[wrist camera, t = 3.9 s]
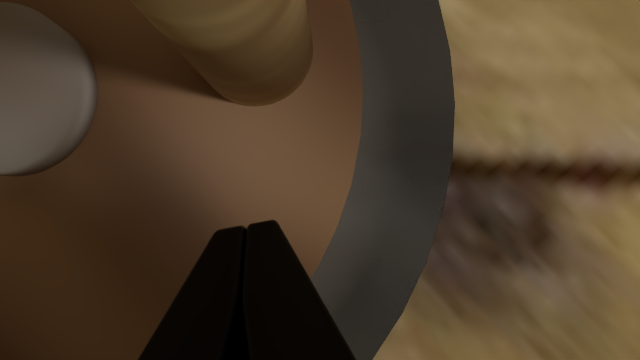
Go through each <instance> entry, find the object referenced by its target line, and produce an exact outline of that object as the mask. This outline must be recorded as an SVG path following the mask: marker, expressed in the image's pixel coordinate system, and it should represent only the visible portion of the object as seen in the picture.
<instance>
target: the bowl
mask: <svg viewBox="0 0 640 360" xmlns="http://www.w3.org/2000/svg"><path fill="white" fill-rule="evenodd" d="M349 1H350V4H351V9H352V13H353V18H354V23H355V27H356V32H357V37H358V41H359V46H360V59H361V72H362V85H363V100H362V118H361V135H360V142H359V147H358V152H357V157H356V163H355V168H354V173H353V178H352V184H351V188H350V191H349V194H348V197H347V200H346V203H345V206H344V209H343V212H342V215H341V218H340V221H339V224H338V227H337V229H336V231H335V233H334V235H333V237H332V239H331V241H330V243H329V245H328V247H327V249H326V251H325V254H324V256H323V258H322V260H321V262H320V264H319V266H318V267H317V269H316V271H315V272H314V274H313V275H312V277H311V278H310V279H311V281H312V283H313V285H314V286H315V288H316V290H317V292H318V293H319V295H320V297H321V299H322V300H323V302H324V304H325V306H326V307H327V309H328V311H329V313H330V314H331V316H332V318H333V320H334V321H335V323H336V325H337V327H338V328H339V330H340V332H341V334H342V335H343V337H344V339H345V341H346V342H347V344H348V346H349V348H350V349H351V351H352V353H353V355H354V356H355V358H356V360H372V359H373V358H374V356H375V354H376V353H377V351H378V350H379V348H380V347H381V345H382V344H383V342H384V341H385V339H386V337H387V336H388V334H389V333H390V331H391V330H392V328H393V327H394V325H395V324H396V322H397V320H398V319H399V317H400V316H401V314H402V313H403V311H404V309H405V306H406V304H407V302H408V300H409V298H410V296H411V294H412V292H413V290H414V287H415V285H416V283H417V281H418V279H419V277H420V275H421V273H422V271H423V268H424V266H425V264H426V262H427V259H428V255H429V252H430V249H431V246H432V243H433V240H434V237H435V234H436V231H437V227H438V224H439V221H440V218H441V215H442V212H443V207H444V202H445V196H446V190H447V185H448V179H449V174H450V168H451V162H452V155H453V133H454V110H455V101H454V90H453V78H452V67H451V56H450V49H449V44H448V40H447V36H446V31H445V27H444V22H443V18H442V14H441V9H440V5H439V1H438V0H349Z"/></svg>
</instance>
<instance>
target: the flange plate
mask: <svg viewBox="0 0 640 360" xmlns="http://www.w3.org/2000/svg"><path fill="white" fill-rule="evenodd" d="M362 100H363V85H362V72H361V59H360V46H359V41H358V37H357V32H356V27H355V23H354V18H353V13H352V9H351V4H350V1H349V0H0V360H137V359H138V358H139V356H140V354H141V353H142V351H143V349H144V348H145V346H146V345H147V343H148V341H149V340H150V338H151V336H152V335H153V333H154V331H155V330H156V328H157V326H158V325H159V323H160V321H161V320H162V318H163V316H164V315H165V313H166V311H167V310H168V308H169V306H170V305H171V303H172V301H173V300H174V298H175V296H176V295H177V293H178V291H179V290H180V288H181V286H182V285H183V283H184V282H185V280H186V278H187V277H188V275H189V273H190V272H191V270H192V268H193V267H194V265H195V263H196V262H197V260H198V258H199V257H200V255H201V253H202V252H203V250H204V248H205V247H206V245H207V243H208V242H209V240H210V238H211V237H212V235H213V234H214V232H216V231H217V230H219V229H223V228H228V227H234V226H239V225H242V226H245V227H246V228H247V226H248V225H249V224H251V223H256V222H262V221H267V220H276V221H277V222H278V224H279V225H280V227H281V229H282V230H283V232H284V234H285V236H286V237H287V239H288V241H289V243H290V244H291V246H292V248H293V250H294V251H295V253H296V255H297V257H298V258H299V260H300V262H301V264H302V265H303V267H304V269H305V271H306V272H307V274H308V276H309V278H311V277H312V275H313V274H314V272H315V271H316V269H317V267H318V266H319V264H320V262H321V260H322V258H323V256H324V254H325V251H326V249H327V247H328V245H329V243H330V241H331V239H332V237H333V235H334V233H335V231H336V229H337V227H338V224H339V221H340V218H341V215H342V212H343V209H344V206H345V203H346V200H347V197H348V194H349V191H350V188H351V184H352V178H353V173H354V168H355V163H356V157H357V152H358V147H359V142H360V135H361V118H362Z"/></svg>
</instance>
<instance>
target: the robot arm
mask: <svg viewBox="0 0 640 360" xmlns="http://www.w3.org/2000/svg"><path fill="white" fill-rule="evenodd" d="M137 360H356V358H355V356H354V355H353V353H352V351H351V349H350V348H349V346H348V344H347V342H346V341H345V339H344V337H343V335H342V334H341V332H340V330H339V328H338V327H337V325H336V323H335V321H334V320H333V318H332V316H331V314H330V313H329V311H328V309H327V307H326V306H325V304H324V302H323V300H322V299H321V297H320V295H319V293H318V292H317V290H316V288H315V286H314V285H313V283H312V281H311V279H310V278H309V276H308V274H307V272H306V271H305V269H304V267H303V265H302V264H301V262H300V260H299V258H298V257H297V255H296V253H295V251H294V250H293V248H292V246H291V244H290V243H289V241H288V239H287V237H286V236H285V234H284V232H283V230H282V229H281V227H280V225H279V224H278V222H277V221H276V220H267V221H262V222H256V223H251V224H249V225H248V226H247V228H246V227H245V226H242V225H239V226H234V227H228V228H223V229H219V230H217V231H216V232H214V234H213V235H212V237H211V238H210V240H209V242H208V243H207V245H206V247H205V248H204V250H203V252H202V253H201V255H200V257H199V258H198V260H197V262H196V263H195V265H194V267H193V268H192V270H191V272H190V273H189V275H188V277H187V278H186V280H185V282H184V283H183V285H182V286H181V288H180V290H179V291H178V293H177V295H176V296H175V298H174V300H173V301H172V303H171V305H170V306H169V308H168V310H167V311H166V313H165V315H164V316H163V318H162V320H161V321H160V323H159V325H158V326H157V328H156V330H155V331H154V333H153V335H152V336H151V338H150V340H149V341H148V343H147V345H146V346H145V348H144V349H143V351H142V353H141V354H140V356H139V358H138V359H137Z"/></svg>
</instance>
